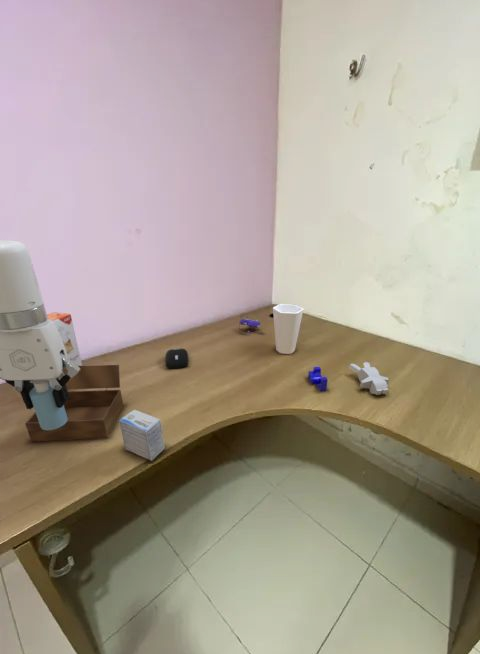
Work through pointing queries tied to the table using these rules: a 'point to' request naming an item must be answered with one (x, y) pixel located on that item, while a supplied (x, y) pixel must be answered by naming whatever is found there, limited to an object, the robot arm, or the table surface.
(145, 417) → the medicine box
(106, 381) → the flap
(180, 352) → the computer mouse
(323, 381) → the cable holder
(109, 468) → the table surface
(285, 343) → the cup
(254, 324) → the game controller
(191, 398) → the table surface
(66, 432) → the wooden box
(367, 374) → the bunny figurine
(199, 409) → the table surface
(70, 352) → the cracker box
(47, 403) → the bottle
